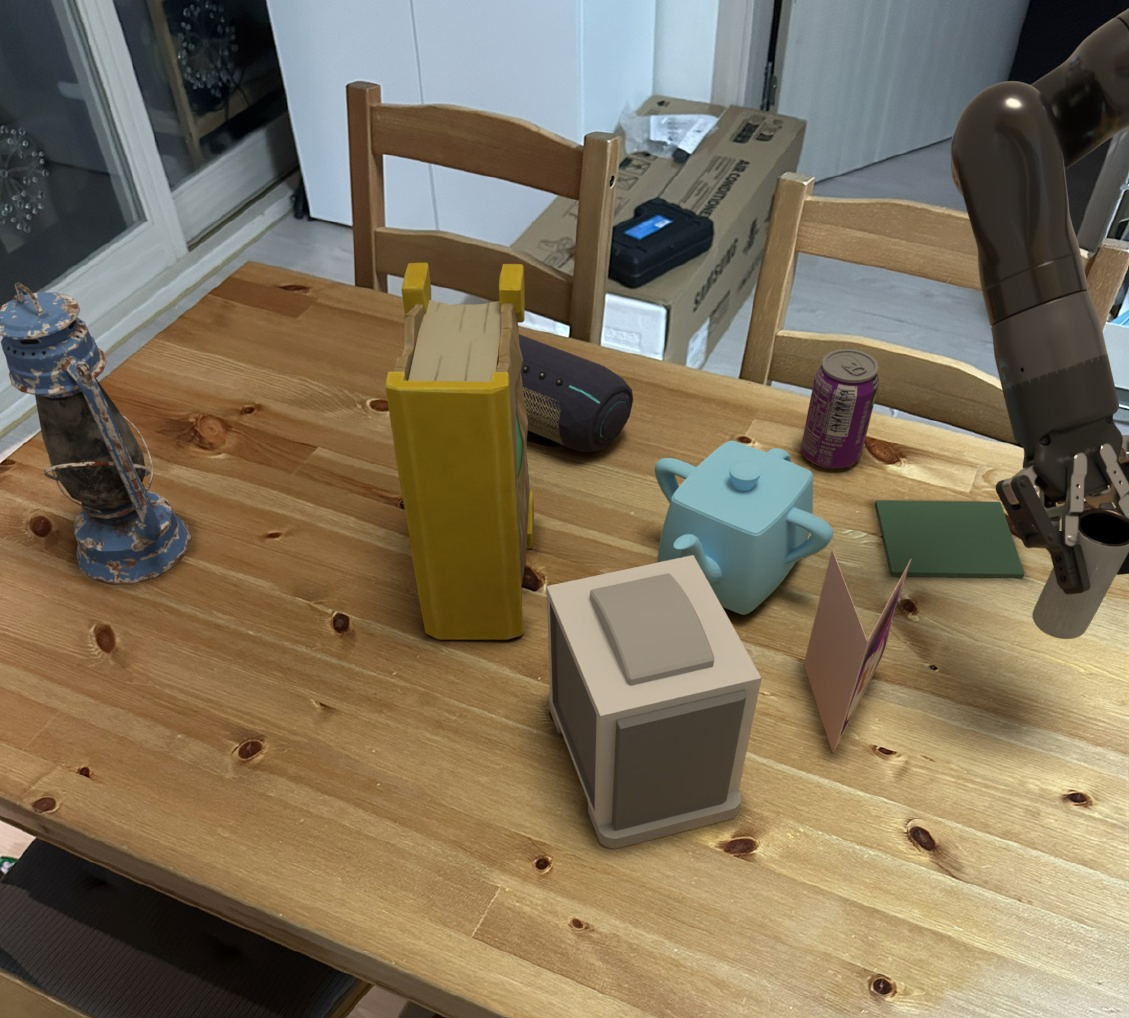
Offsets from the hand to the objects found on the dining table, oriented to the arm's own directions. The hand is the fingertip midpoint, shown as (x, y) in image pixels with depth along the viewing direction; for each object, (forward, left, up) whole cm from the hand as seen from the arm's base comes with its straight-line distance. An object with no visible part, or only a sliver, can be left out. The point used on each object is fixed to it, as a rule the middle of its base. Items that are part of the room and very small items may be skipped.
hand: (1103, 581), depth 84 cm
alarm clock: (+36, +3, -20) cm, 41 cm away
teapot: (+27, -21, -20) cm, 39 cm away
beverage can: (+13, -43, -20) cm, 49 cm away
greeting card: (+18, -4, -20) cm, 27 cm away
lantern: (+92, -25, -20) cm, 97 cm away
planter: (+1, -2, -6) cm, 7 cm away
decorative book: (+53, -21, -20) cm, 60 cm away
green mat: (+2, -28, -20) cm, 34 cm away
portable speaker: (+49, -49, -20) cm, 72 cm away
